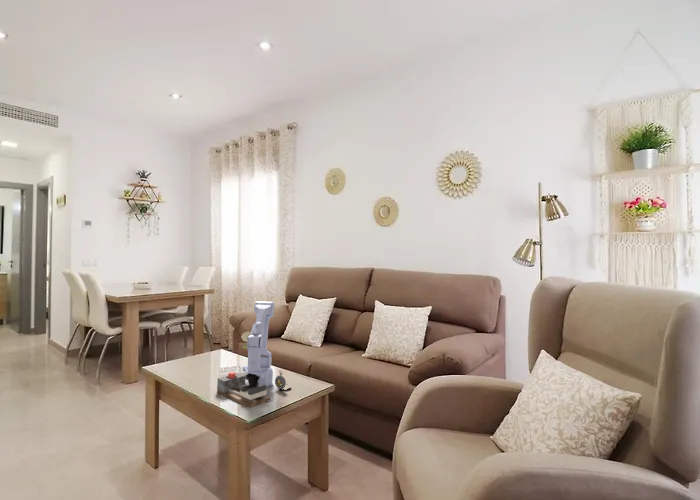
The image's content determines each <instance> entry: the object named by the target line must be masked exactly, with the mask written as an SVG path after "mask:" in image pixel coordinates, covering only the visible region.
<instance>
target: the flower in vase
mask: <svg viewBox="0 0 700 500" xmlns="http://www.w3.org/2000/svg"><path fill="white" fill-rule="evenodd" d="M250 334H251V331H249V330H248V331H245V332H243V333H242V334H241V336H240V338H241V340H242V341H243V342H246V343H247V339H248V336H250ZM241 349H245V350H247V349H248V347H247V344H244V345H242V346H241ZM241 374H243V375H245V377H246V375H247V373H246V371H243V370H242V371H241Z"/></svg>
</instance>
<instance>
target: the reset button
mask: <svg viewBox="0 0 700 500" xmlns="http://www.w3.org/2000/svg"><path fill="white" fill-rule="evenodd" d="M236 374H237V373H236V372H234V371H231V372H228V373H227V376H228V378H229V379H233V378H235V377H236Z"/></svg>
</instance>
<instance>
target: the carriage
mask: <svg viewBox="0 0 700 500" xmlns="http://www.w3.org/2000/svg"><path fill="white" fill-rule="evenodd" d="M240 395H241V396H243V397H245V398H247V399H250V400H252V399H255V398H258V397H261V396H264V395H266V396H267V387H266V385H265V384H263V385H260V386H259V382H257V385H256V387H253V388H250V386H249V383H247V384H246V383H245V385H242V386H241V391H240Z"/></svg>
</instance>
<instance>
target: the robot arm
mask: <svg viewBox="0 0 700 500" xmlns="http://www.w3.org/2000/svg"><path fill="white" fill-rule="evenodd" d="M253 311H254V314H255V316H256V320H255V322H254V323H253V324H252V327H251V331H250V332H251V334H250V336H248V339H247V342H246V345H247V347H248V348H247V349H246V350H247V365H246V366H243V367H242V371H246V373H247V375H246V376H245V378H246V379H247V381H248V384H249V386H250V388H253V387H256V385H257V382H259V386H260V385H263V384H265V385H266V388H268V387H270V386H274V383H273V376H274V375H273V373H274V372H273V371H274V370H273V368H272V359H273V358H272V355H273V354H272V352H271V351H269V349H267V348H268V339H269V326H270V325H269V324H270V320H271V318H273V317H274V314H275V302H274V301H260V300H259V301H258V300H257V301H254V306H253Z"/></svg>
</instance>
